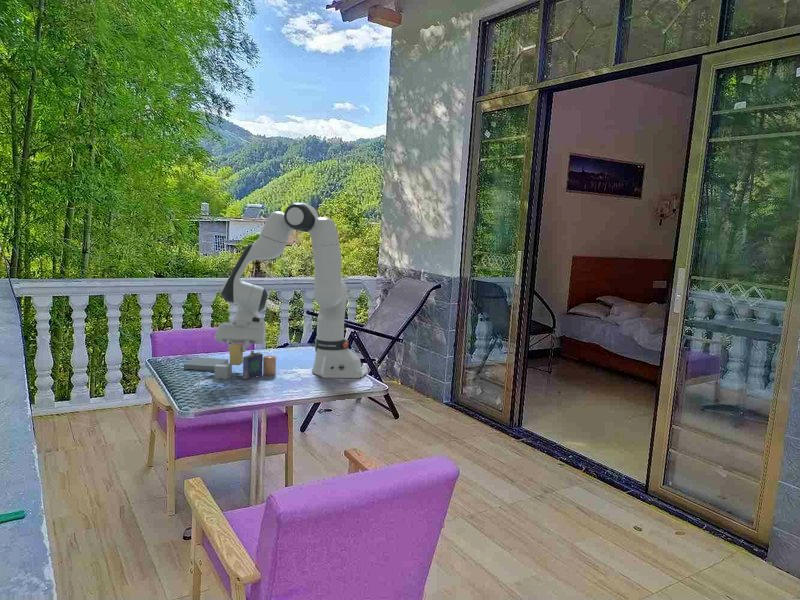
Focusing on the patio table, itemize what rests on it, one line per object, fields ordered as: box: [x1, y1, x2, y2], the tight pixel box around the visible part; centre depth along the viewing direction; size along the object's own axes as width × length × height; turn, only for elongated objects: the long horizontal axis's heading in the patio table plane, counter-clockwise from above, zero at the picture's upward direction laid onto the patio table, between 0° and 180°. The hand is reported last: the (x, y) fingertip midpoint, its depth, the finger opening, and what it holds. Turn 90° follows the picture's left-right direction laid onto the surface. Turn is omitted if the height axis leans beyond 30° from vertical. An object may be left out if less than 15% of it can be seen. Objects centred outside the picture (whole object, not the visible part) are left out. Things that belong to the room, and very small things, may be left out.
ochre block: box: [229, 343, 244, 366], centre depth 224 cm, size 4×4×8 cm
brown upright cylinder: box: [262, 355, 277, 376], centre depth 224 cm, size 5×5×7 cm
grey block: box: [214, 362, 233, 380], centre depth 217 cm, size 5×5×5 cm
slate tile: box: [183, 356, 229, 372], centre depth 230 cm, size 14×12×2 cm
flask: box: [242, 349, 264, 381], centre depth 218 cm, size 9×3×11 cm, turn 146°
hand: (236, 350), depth 223 cm, fingers closed on ochre block, 4 cm apart
